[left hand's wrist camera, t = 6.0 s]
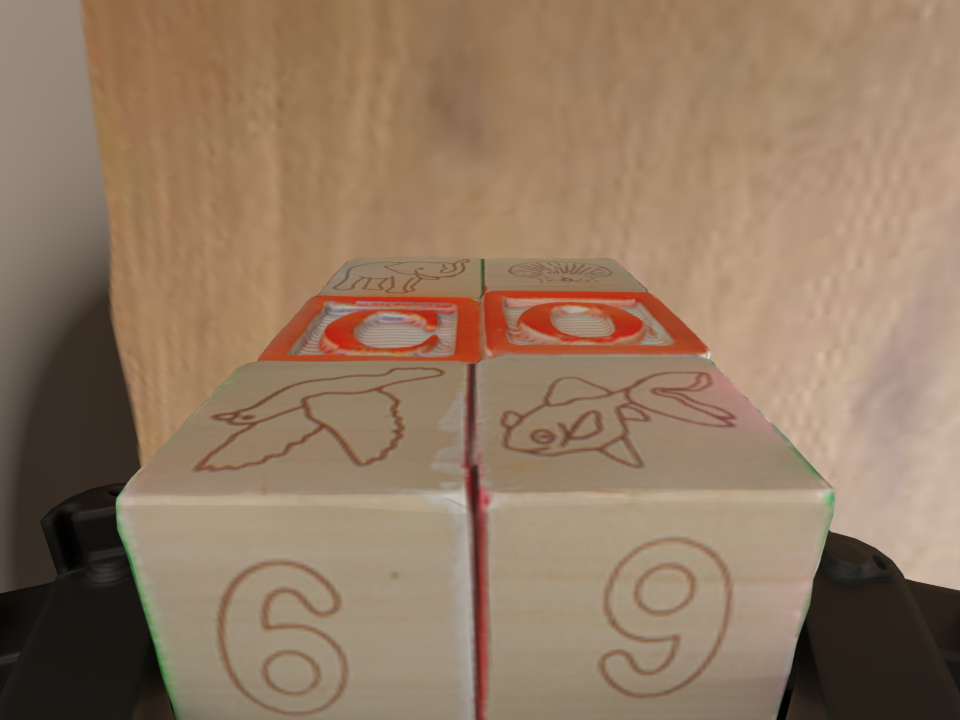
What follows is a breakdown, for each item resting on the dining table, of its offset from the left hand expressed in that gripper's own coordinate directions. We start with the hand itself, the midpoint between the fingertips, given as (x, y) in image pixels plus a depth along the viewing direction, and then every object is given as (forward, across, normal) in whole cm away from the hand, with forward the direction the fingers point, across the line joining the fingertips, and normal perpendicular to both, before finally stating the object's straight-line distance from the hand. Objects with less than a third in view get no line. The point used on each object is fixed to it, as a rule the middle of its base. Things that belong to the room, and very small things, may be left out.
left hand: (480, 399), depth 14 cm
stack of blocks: (+1, 0, -7) cm, 7 cm away
